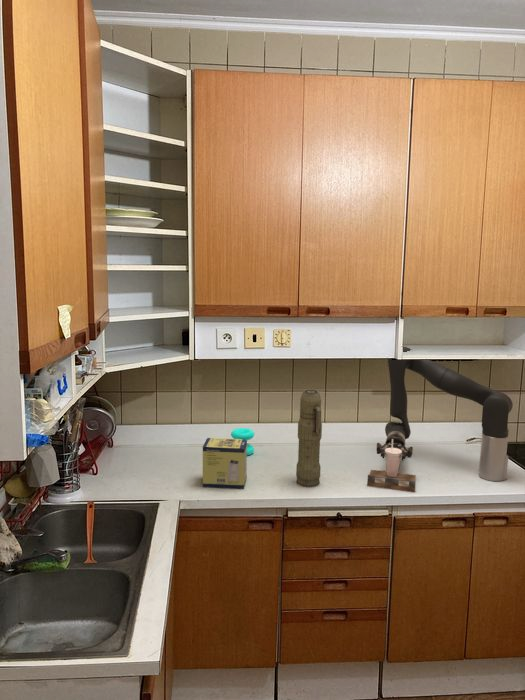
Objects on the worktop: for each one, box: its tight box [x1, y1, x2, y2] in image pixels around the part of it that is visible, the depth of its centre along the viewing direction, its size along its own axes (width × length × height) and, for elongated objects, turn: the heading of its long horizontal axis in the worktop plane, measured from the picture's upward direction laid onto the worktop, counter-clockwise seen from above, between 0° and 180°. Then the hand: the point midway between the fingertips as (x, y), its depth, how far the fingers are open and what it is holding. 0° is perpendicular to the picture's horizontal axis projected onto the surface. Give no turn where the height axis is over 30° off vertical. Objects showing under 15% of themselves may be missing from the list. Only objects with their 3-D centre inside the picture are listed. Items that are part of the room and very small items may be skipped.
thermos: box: [295, 389, 323, 488], centre depth 198 cm, size 9×12×35 cm
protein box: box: [202, 437, 248, 490], centre depth 198 cm, size 10×16×16 cm
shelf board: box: [366, 469, 417, 493], centre depth 202 cm, size 17×13×4 cm
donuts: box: [230, 427, 255, 457], centre depth 230 cm, size 10×10×10 cm
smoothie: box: [385, 439, 402, 477], centre depth 201 cm, size 6×6×14 cm
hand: (392, 456), depth 199 cm, fingers closed on smoothie, 6 cm apart
